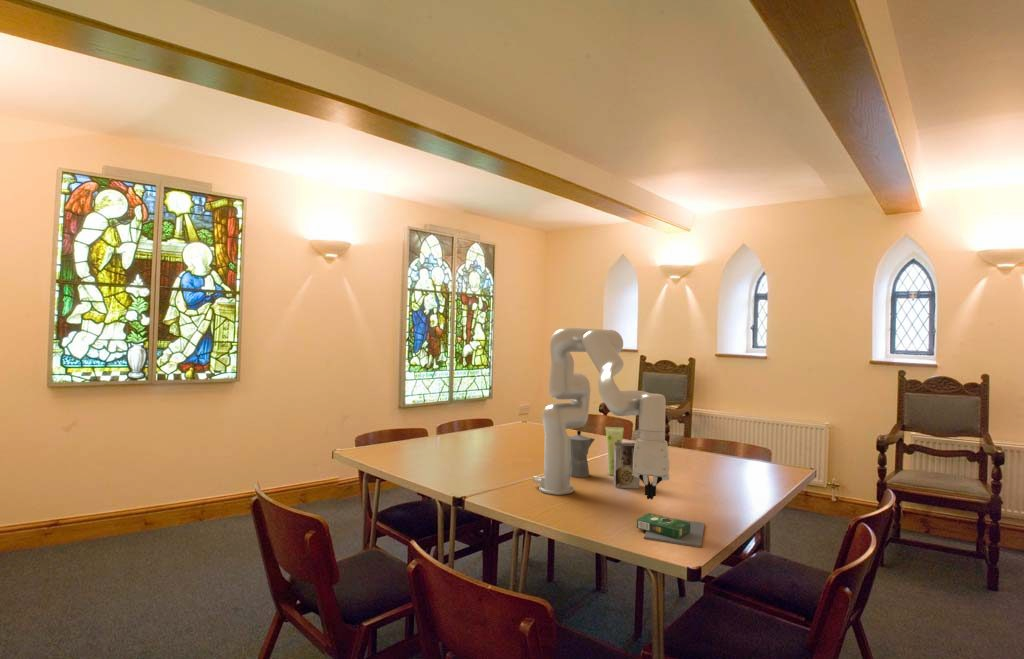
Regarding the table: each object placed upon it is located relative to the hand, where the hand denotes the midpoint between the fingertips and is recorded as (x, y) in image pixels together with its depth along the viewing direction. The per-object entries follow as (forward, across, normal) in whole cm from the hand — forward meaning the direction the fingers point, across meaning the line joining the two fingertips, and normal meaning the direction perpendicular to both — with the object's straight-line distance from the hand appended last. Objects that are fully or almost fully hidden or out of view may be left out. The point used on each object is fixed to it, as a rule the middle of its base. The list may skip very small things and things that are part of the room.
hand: (650, 498), depth 161 cm
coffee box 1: (+9, -15, +44) cm, 47 cm away
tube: (+9, -22, +60) cm, 65 cm away
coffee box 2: (+7, -2, -1) cm, 7 cm away
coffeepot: (+9, -37, +52) cm, 64 cm away
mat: (+9, +7, 0) cm, 11 cm away
